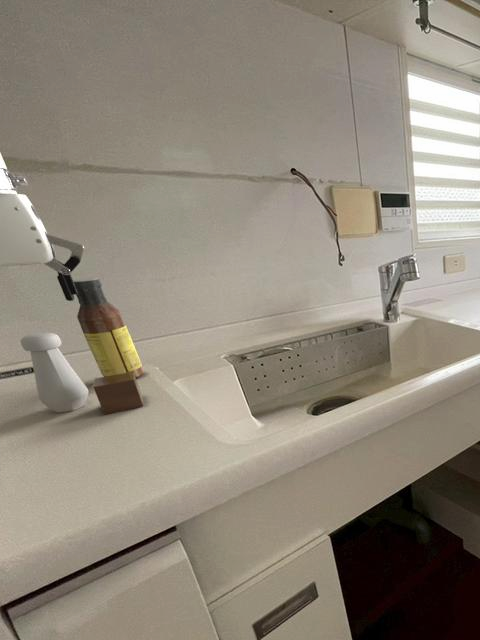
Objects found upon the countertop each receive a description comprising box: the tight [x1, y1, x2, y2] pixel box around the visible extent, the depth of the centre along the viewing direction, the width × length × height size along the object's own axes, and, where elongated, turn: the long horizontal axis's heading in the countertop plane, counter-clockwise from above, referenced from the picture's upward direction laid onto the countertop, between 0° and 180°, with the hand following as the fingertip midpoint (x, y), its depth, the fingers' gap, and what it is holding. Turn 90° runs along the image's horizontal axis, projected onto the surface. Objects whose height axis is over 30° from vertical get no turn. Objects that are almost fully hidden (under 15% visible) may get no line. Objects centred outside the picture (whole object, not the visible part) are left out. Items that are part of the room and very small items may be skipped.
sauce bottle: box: [73, 277, 144, 379], centre depth 78 cm, size 6×6×20 cm
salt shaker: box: [19, 332, 89, 414], centre depth 67 cm, size 6×6×13 cm
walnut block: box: [93, 372, 144, 415], centre depth 69 cm, size 5×5×5 cm
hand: (27, 303), depth 63 cm, fingers open, 9 cm apart
